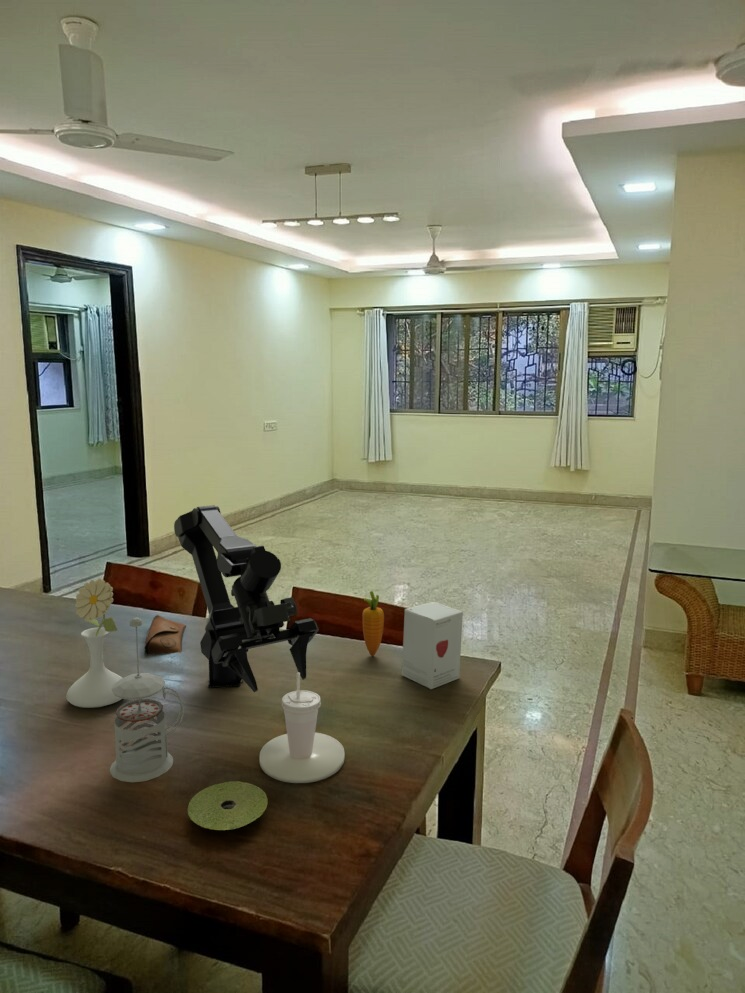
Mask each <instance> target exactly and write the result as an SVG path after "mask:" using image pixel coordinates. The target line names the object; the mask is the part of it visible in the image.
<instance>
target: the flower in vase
mask: <svg viewBox="0 0 745 993" xmlns="http://www.w3.org/2000/svg"><path fill="white" fill-rule="evenodd" d="M113 591H114V587H113V586H111V584H110V583H109V582H106V581H105V580H104V579H102V578H98V579H96V580H94V579H91V580H90V581H88V582H85V583H84V585H83V587H79V589H78V593H76V596H75V604H74V606H75V608H76V609H75V613H76V615H77V616H79V618H81V619H82V618H83V620H84V621H85V622H87V623H89V624H92V625H94V626H96V627H91V628H88V629H85V630H82V631H81V632H80V635H81V637H82V638H84V640H85V642H86V644H87V646H88V649H89V650H88V651H89V657H90V658H89V660H90V662H89V663H90V664H89V669H88V671H87V672H85V673H84V674H83V675H82V676H81V677H79V678H78V679H77V680H76V681H75V682H73V683H72V684H71V686H70V687H69V688H68V690H67V692H66V694H65V695H66V696H65V698H66V700H67V702H69V703H70V704H71V705H73V706H74V707H79V708H88V709H89V708H94V709H95V708H101V707H104V706H105V707H106V706H108V705H109V706H110V705H112V704H115V703H117V702H119V701H121V700H122V699H121V698H119V697H117V696H115V695H114V693H113V692H112V690H111V689H112V686H113V685H114V684H115V683H116V682H117V681H119V680H120V679H122V678H123V676H120V675H119V674H117V673H115V672H114V671H111V670H109V669H108V668H107V667H106V666H105V663H104V656H103V654H104V644H105V640H106V638H107V636H108V634H109V633H111V632H116V631H118V628H117V626H116V623H115V621H114V619H113V618H112V617H108V618H106V612H107V611H109V609H110V608H111V607H110V606H111V604H112V603H113V602H114V598H113V597H114V593H113ZM100 618H102V620H101V623H100V624H99V621H98V620H97V619H100Z"/></svg>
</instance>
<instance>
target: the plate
mask: <svg viewBox="0 0 745 993" xmlns="http://www.w3.org/2000/svg"><path fill="white" fill-rule="evenodd" d="M345 755H346V754H345V749H344V746H343V744H342V743H341V742H339V740H337V739H336V738H334V737H333V736H330V735H328V734H325V733H320V732H316V731H315V736H314V743H313V750H312V755H311V756H310V757H308V758H306V759H295V758H292V757H291V756H290V752H289V745H288V737H287V733H285V734H281V735H278V736H276V737H274V738H272V739H270V740H269V741H268V742H266V743H265V744H264V745H263V746H262V748H261V750H260V752H259V765H260V768H261V770H262V771H263V773H265V774H266V775H267V776H268V777H270V778H273V779H275V780H277V781H280V782H284V783H291V784H308V783H309V784H310V783H314V782H315V783H316V782H318V781H322V780H325V779H328V778H329V777H332V776H333V775H335V774H337V772H339V770H341V768H342V767H343V765H344V763H345V757H346V756H345Z"/></svg>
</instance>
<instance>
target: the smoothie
mask: <svg viewBox="0 0 745 993" xmlns="http://www.w3.org/2000/svg"><path fill="white" fill-rule="evenodd" d="M321 705H322V701H321V696H320V695H319V694H318V693H316V692H315V691H311V690H305V689H302V690H301V676H300V672H298V671H297V672H296V690H294V691H290V692H287V693H286V694H284V695H283V696H282V698H281V708H283V710H284V711H283V712H284V719H285V720H284V721H285V727H286V734H287V737H288V745H289V752H290V756H291V757H292V758H295V759H306V758H308V757H310V756H311V755H312V750H313V743H314V736H315V732H316V728H317V721H318V714H319V709H320V708H321Z"/></svg>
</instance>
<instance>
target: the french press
mask: <svg viewBox="0 0 745 993" xmlns="http://www.w3.org/2000/svg"><path fill="white" fill-rule="evenodd" d="M129 626H130V627H133V628H134V627H135V638H136V639H135V641H136V642H135V643H136V644H135V645H136V668H137V673H131V674H129V675H127V676H125V677H122V679H120V680H119V681H117V682H116V683H115V684H114V685H113V686H112V689H111V690H112V692H113V693H114V695H115V696H117V697H119V698H121V700H122V699H123V700H130V701H128V702H126V703H123V704H121V705H120V706H119V707H118V708H117V709H116V711H115V715H116V717H115V718H114V739H115V741H114V743H115V760H114V761H113V762H112V763H111V765H110V768H109V773H110V774H111V776H112V778H114V779H116V780H118V781H120V782H125V783H126V782H127V783H138V782H140V783H141V782H147V781H150V780H154V779H156V778H158V777H160V776H162V775H163V774H165V773H167V772H168V771H169V770H170V768H172V766H173V764H174V757H173V756H172V754H170V752H168V736H169V735H170V734H171V733H172V732H175V731H176V729H177V728H179V726H180V725H181V723H182V721H183V719H184V712H185V710H184V704H183V701H182V698H181V696H180V695H179V693H178V691H176V690H174V689H173V688H170V687H168V686H165V685H166V680H165V679H164V678H163V677H162V676H158V675H156V674H152V673H149V672H140V670H139V669H140V667H139V666H140V664H139V642H138V627H141V626H143V620H142V618H140V617H138V616H137V617H133V618H131V619H130V621H129ZM165 690H170V691H165ZM161 691H162V698H163V700H166V696H167V695H166V694H170V695H173V696H174V697H176V698H177V700H178V701H179V703H180V711H179V714H178V716H177V719H176V720H175V721H174V722H173V723H172V724H170V725H169V726H167V727H166V717H165V711H163V709H164V705H163V703H161V701H159V700H156V699H152V698H151V697H152V696H155V695H157V694H160V692H161ZM155 718H156V719H155ZM144 721H150V722H153V723H147V722H144ZM178 721H179V722H178ZM139 722H143V723H140V724H138V725H136V724H137V723H139ZM177 722H178V724H177ZM127 723H129V724H128V725H126V724H127ZM154 723H155V725H154ZM175 724H177V725H176V726H175ZM124 725H126V726H124ZM134 725H135V726H134ZM122 726H124V727H123V728H122ZM173 726H175V727H174V728H173V729H171V730H169V729H170V728H172V727H173ZM131 727H133V728H132V729H130V728H131ZM167 730H169V731H168V732H167ZM147 735H149V737H148V736H147ZM121 742H122V743H121ZM129 743H131V744H130V745H129ZM127 745H129V746H127ZM121 750H123V751H121Z"/></svg>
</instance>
